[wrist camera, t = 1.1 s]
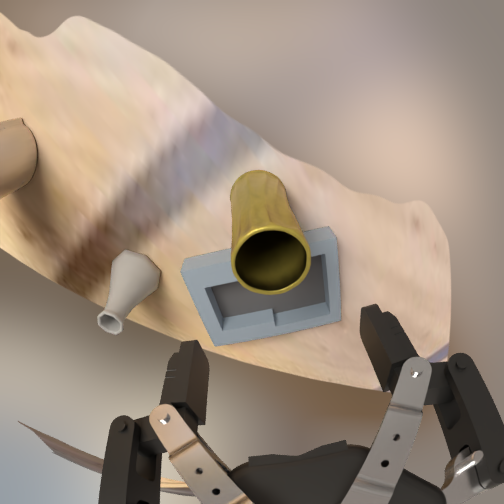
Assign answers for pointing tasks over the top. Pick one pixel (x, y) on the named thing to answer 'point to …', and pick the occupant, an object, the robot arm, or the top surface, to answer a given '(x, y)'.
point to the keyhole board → (260, 305)
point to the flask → (127, 288)
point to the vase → (266, 236)
